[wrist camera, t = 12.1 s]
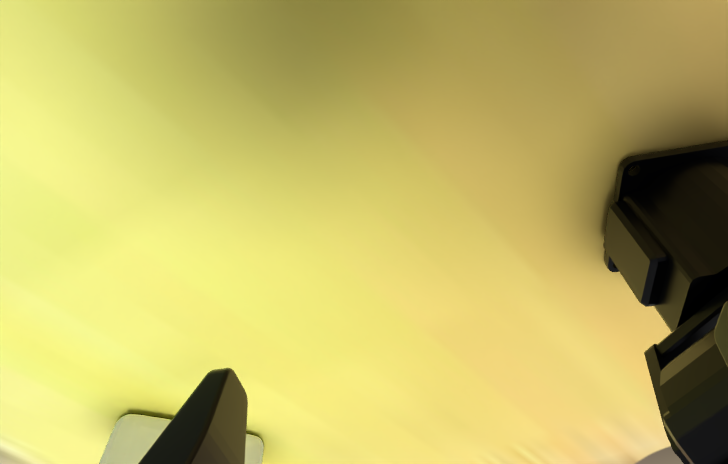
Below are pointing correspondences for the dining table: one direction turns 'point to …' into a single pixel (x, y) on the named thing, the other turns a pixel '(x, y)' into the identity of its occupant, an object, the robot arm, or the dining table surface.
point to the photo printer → (142, 431)
